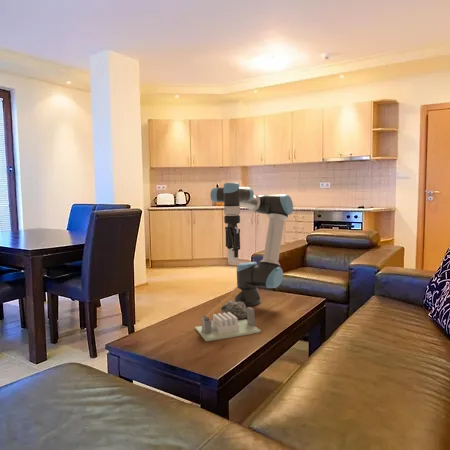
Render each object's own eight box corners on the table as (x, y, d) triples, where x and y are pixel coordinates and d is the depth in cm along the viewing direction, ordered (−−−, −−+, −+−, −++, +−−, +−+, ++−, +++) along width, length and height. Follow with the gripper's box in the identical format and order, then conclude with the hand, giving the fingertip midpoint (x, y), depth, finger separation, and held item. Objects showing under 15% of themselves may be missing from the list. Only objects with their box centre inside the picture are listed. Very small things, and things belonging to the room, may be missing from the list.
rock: (215, 316, 199) (217, 298, 197) (223, 311, 206) (225, 293, 204) (242, 326, 192) (244, 307, 190) (249, 320, 199) (252, 302, 197)
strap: (207, 321, 173) (206, 319, 172) (204, 317, 177) (202, 316, 177) (241, 291, 178) (240, 289, 177) (237, 288, 182) (236, 286, 182)
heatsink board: (195, 328, 183) (194, 310, 182) (245, 321, 192) (245, 303, 191) (206, 341, 167) (205, 321, 166) (260, 332, 176) (260, 313, 175)
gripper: (218, 214, 193) (219, 260, 194) (231, 216, 175) (233, 266, 177) (232, 213, 195) (233, 259, 197) (247, 215, 178) (248, 265, 180)
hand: (233, 262), depth 187 cm, fingers open, 6 cm apart
